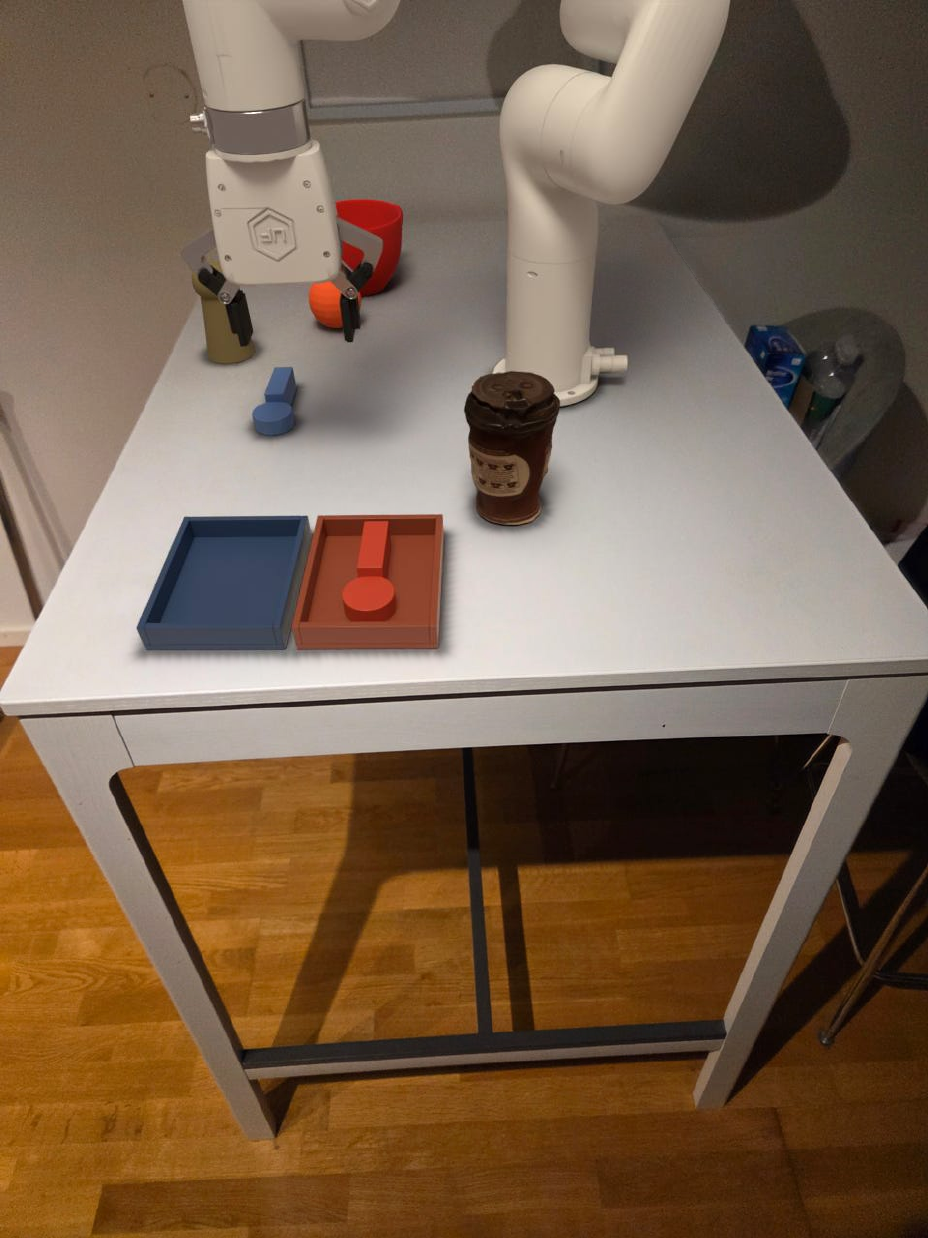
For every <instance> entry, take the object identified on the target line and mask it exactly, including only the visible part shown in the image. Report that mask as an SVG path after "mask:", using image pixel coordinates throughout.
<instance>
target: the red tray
mask: <svg viewBox="0 0 928 1238" xmlns="http://www.w3.org/2000/svg"><path fill="white" fill-rule="evenodd" d="M365 521H388V522H389V530H390V538H391V550H390V558H389V566H388V574H387V580H389V581H390V582H391V583H392V585H393V586H394V589H395V597H396V610H395V613H394V614H393V616H392V617H391V618H390V619H388V620H387V621H385V622H352V621H350V620H349V619H348V618H347V616H346V614H345V611H344V605H343V599H342V592H343V590H344V588H345V586H346V585H347V584H348V583H349V582H351V581H352V580H354V579H356V578H358V573H357V563H358V557H359V551H360V545H361V539H362V533H363V527H364V522H365ZM444 532H445V531H444V515H443V514H442V513H440V514H439V513H437V514H435V513H434V514H431V513H429V514H427V513H425V514H423V513H421V514H417V513H416V514H332V515H331V514H330V515H329V514H328V515H321V514H319V515H317V517H316V521H315V525H314V530H313V534H312V540H311V544H310V548H309V553H308V557H307V561H306V565H305V569H304V574H303V578H302V582H301V586H300V590H299V595H298V599H297V603H296V607H295V611H294V615H293V620H292V624H291V631H292V636H293V639H294V643H295V647H296V650H348V649H349V650H355V649H357V650H361V649H362V650H363V649H364V650H369V649H370V650H371V649H375V650H376V649H380V650H381V649H383V650H384V649H391V650H392V649H397V650H398V649H439V639H440V638H439V636H440V620H441V619H440V616H441V598H442V581H443V580H442V579H443V560H444V559H443V558H444V538H445V533H444Z"/></svg>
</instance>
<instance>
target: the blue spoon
mask: <svg viewBox="0 0 928 1238" xmlns="http://www.w3.org/2000/svg"><path fill="white" fill-rule="evenodd" d="M297 388H298V387H297V383H296V377H295V372H294V367H293V366H275V367H274V368H273V370H272V373H271V375H270V378H269V380H268V383H267V386H266V389H265V390H264V393H263V396H264V400H265V402H264V403H261V404H259V405H257V406H256V407H254V408H253V410H252V412H251V415H252V419H253V424H254V428H255V430H256V431H257V433H258V434H261V435H263V436H270V437H271V436H279V435H283V434H285V433H288V432H289V431H291V430H292V429H293V428H294V426H295V418H294V412H293V408H292V403H293V401H294V397H295V395H296V392H297Z"/></svg>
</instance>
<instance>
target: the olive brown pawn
mask: <svg viewBox="0 0 928 1238" xmlns="http://www.w3.org/2000/svg"><path fill="white" fill-rule="evenodd" d="M208 264H209V265H211V266H213V267H214V268H215V269H216V270H218V271H219V272H220V273H222V274H223V272H222V269H221V265H220V261H209V262H208ZM191 284H192V287H193V289H194V291H195V293H196V294H197V295H199V297H200V302H201V303H200V304H201V311H202V319H203V327H204V335H205V342H206V350H207V358H208V359H209V360H210V361H211V362H213V363H216V364H235V363H240V362H243V361H245V360H248V359H249V358H251V357H252V356H253V355H254V354H255V352H256V348H255V346H254V342H253V340H252V338H251V340H250V343H249V345H247V346H244V347H241V346H240V343H239V339H238V334H233V333H232V331H231V327H230V323H229V319H228V315H227V311H226V307H225V304H223V303H221V302H220V301H219V299H218V296H217V295H216V294H214V293H213V292H212V291H210V290H209V289H208V288H206V287H205V286H204V285H202V284H201V283H200V282H199V280H198V277H197V275H196V274H195V273H193V272H192V273H191Z"/></svg>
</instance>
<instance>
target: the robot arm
mask: <svg viewBox="0 0 928 1238" xmlns="http://www.w3.org/2000/svg"><path fill="white" fill-rule="evenodd" d="M181 1H182V2H181V3H182V6H183V10H184V11H183V12H184V16H185V19H186V20H185V21H186V25H187V29H188V34H189V38H190V43H191V47H192V52H193V56H194V61H195V65H196V70H197V74H198V79H199V83H200V88H201V91H202V96H203V101H204V104H205V105H204V106H203V109H202V110H199V111H198V112H193V113H190V114H189V124H190V127H191V130H192V133H193V134H202V135H204V136H207V137H208V139H209V140H210V143H211V148H210V149H209V150H208V151H207V152H206V153H205V172H206V183H207V184H206V185H207V192H208V201H209V209H210V215H211V222H212V227H210V228H209V229H206V231H204V232H202V233H201V234H199V235H198V236H197V237H195V238H194V239H192V240H190V241H189V242H188V243H186V244H185V245H184V246H183V248H182V249H181V251H180V257H181V259H182V261H184V263H185V264H186V265H187V266H188V268H189V269H190V271H191V272H192V273H195V274H196V275H197V277H198V280H199V282H200V283H201V284H202V285H204V286H205V287H206V288H208V289H209V290H210V291H212V292H213V293H214V294H216V295H217V296H218V299H219V301H220V302H221V303H223V304H225V307H226V311H227V315H228V319H229V323H230V327H231V331H232V333H233V334H238V339H239V343H240V346H241V347H244V346H247V345H249V343H250V340H251V339H252V337H253V334H254V328H253V323H252V318H251V313H250V309H249V305H248V301H247V295H246V293H245V292H244V291H243V289H241V287H270V286H271V287H272V286H297V285H312V284H318V283H325V282H329V281H330V282H331V283H332V284H333V285H334V286H335V287H336V288H337V289H338V290H339V291H340V292H341V297H340V310H341V317H342V324H343V327H342V330H343V337H344V342H346V343H347V344H348V343H349V344H350V343H354V340H355V339H354V338H355V334H356V333H355V332H356V330H361V327H362V321H361V319H362V318H361V312H360V311H361V309H360V310H359V302H358V293H359V291H360V290H361V289H362V288H363V287H364V285H365V284H366V283H367V282H368V281H369V280H370V278H371V277H372V276H373V272H374V270H375V267H376V265H377V263H378V260H379V258H380V255H381V252H382V249H383V240H382V239H381V238H380V237H378V236H376V235H374V234H371V233H369V232H367V231H365V230H363V229H361V228H359V227H357V226H355V225H353V224H351V223H348V222H346V221H344V220H342V219H340V218H338V214H337V209H336V204H335V202H336V200H335V199H336V198H335V195H334V190H333V187H332V185H333V184H332V182H331V178H330V173H329V170H328V167H327V163H326V159H325V156H324V154H323V151H322V148H321V144H320V142H319V141H318V140H316V139H312V138H311V132H310V125H309V124H310V123H309V117H308V109H307V103H306V97H305V90H304V81H303V75H302V69H301V68H302V67H301V61H300V60H301V59H300V55H299V48H298V42H300V41H311V40H312V41H333V42H334V41H335V42H337V41H338V42H353V41H354V42H355V41H360V40H364V39H367V38H370V37H372V36H374V35H376V34H377V33H379V32H380V31H381V30H383V29H384V28H386V26H387V25H388V24H389V23H390V22H391V21H392V19H393V18H394V16H395V14H396V13H397V11H398V8H399V6H400V3H401V0H181ZM730 4H731V0H560V5H559V25H560V29H561V33H562V35H563V37H564V38H565V40H566V42H567V44H569V45H570V46H571V47H572V48H573V49H575V50H576V51H577V52H578V53H581V54H583V55H585V56H587V57H589V58H593V59H595V60H599V61H603V62H607V63H610V64H614V65H616V66H615V68H614V71H613V72H612V75H611V76H608V75H603V74H601V73H599V72H595V71H591V70H586V69H583V68H577V67H574V66H569V65H566V64H557V63H556V64H555V63H550V64H542V65H538V66H535V67H533V68H530V69H529V70H527V71H525V72H524V73H523V74H521V75H520V76H518V78H516V80H515V81H514V82H513V84H512V85H511V86H510V88H509V90H508V91H507V94H506V96H505V98H504V100H503V103H502V107H501V110H500V115H499V124H498V125H499V126H498V129H499V130H498V134H499V135H498V140H499V149H500V157H501V162H502V169H503V175H504V182H505V191H506V192H505V193H506V206H507V208H506V209H507V247H506V297H505V298H506V301H505V302H506V306H505V311H506V312H505V357H504V358H502V359H501V360H500V361H499V362H498V363H496V365H495V366H494V368H493V369H492V373H491V374H495V373H505V372H509V371H516V372H530V373H534V374H537V375H540V376H542V377H544V378H546V379H547V380H548V381H549V382H550V383H551V384H552V385H553V387H554V389H555V392H554V394H555V395H556V396H557V397H558V398H559V400H560V407H565V406H570V405H573V404H574V405H575V404H577V403H579V402H582V401H583V400H585V399H587V398H589V397H590V396H592V394H593V393H595V391H596V389H597V388H598V382H599V375H600V373H606V372H607V373H627V370H628V362H629V361H628V355H627V354H615V348H614V347H603V348H595V346H594V345H591V342H590V337H589V336H590V327H591V317H592V316H591V315H592V305H593V294H594V283H595V271H596V262H597V250H598V242H599V230H600V229H599V225H600V224H599V211H598V205H597V202H599V203H602V204H605V205H610V206H611V205H613V206H617V205H618V206H619V205H623V204H627V203H629V202H632V201H634V200H635V199H636V198H638V197H639V196H640V195H642V194H643V193H644V192H645V191H646V190H647V189H648V188H649V187H650V185H651V184H652V183H653V181H654V180H655V179H656V177H657V175H658V174H659V172H660V170H661V169H662V167H663V165H664V164H665V161H666V160H667V158H668V156H669V153H670V151H671V150H672V147H673V145H674V143H675V141H676V139H677V137H678V134H679V133H680V130H681V128H682V127H683V125H684V122H685V120H686V118H687V116H688V114H689V112H690V109H691V107H692V105H693V103H694V102H695V99H696V97H697V95H698V92H699V90H700V88H701V86H702V85H703V82H704V80H705V78H706V75H707V74H708V71H709V70H710V67H711V65H712V64H713V61H714V58H715V56H716V53H717V52H718V50H719V47H720V44H721V41H722V38H723V35H724V33H725V30H726V26H727V22H728V17H729V12H730ZM342 241H344V242H346V243H348V244H350V245H352V246H354V247H357V248H359V249H361V250H362V251H363V252H364V257H363V259H362V261H361V262H360V263H359V265H358V266H357V267H356V268H355V269H354V271H353V270H352V269H351V268H350V267H349V266H348V265H347V264H346V263H345V262H344V261H343V260H342V256H343V244H342ZM215 248H216V252H217V257H218V262H220V265H221V269H222V272H223V274H222V273H220V272H219V271H218V270H216V269H215V268H214V267H213V266H211V265H209V264H208V263H209V262H208V260H207V258H206V257H205V255H206V254H208V253H209V252H211V251H213V249H215Z"/></svg>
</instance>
